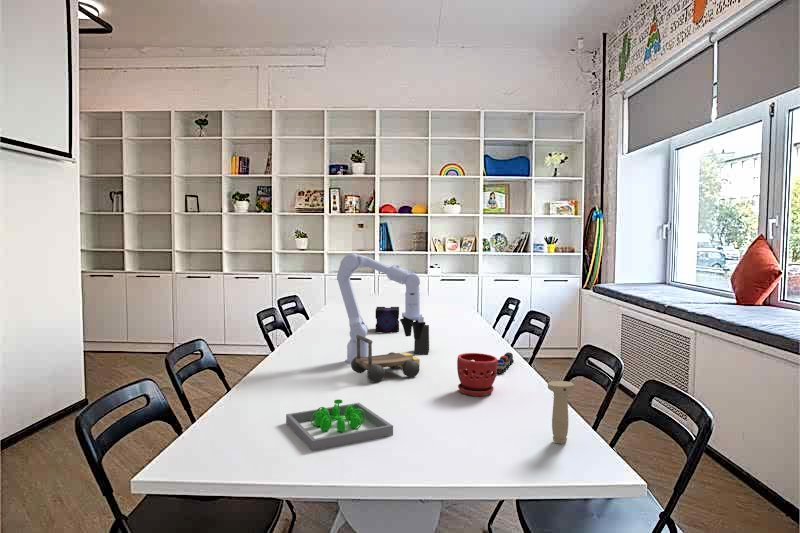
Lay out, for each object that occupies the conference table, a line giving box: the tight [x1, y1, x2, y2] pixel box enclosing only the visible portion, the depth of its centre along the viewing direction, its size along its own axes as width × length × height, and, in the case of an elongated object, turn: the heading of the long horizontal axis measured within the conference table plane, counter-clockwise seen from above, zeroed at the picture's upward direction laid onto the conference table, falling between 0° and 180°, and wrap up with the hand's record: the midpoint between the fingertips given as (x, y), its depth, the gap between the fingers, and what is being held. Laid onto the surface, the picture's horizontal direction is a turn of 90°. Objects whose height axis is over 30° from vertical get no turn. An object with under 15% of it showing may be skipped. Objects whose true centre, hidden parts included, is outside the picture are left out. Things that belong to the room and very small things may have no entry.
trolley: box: [350, 335, 420, 383], centre depth 205 cm, size 16×20×15 cm
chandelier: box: [310, 399, 366, 434], centre depth 153 cm, size 15×15×7 cm
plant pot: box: [456, 352, 499, 397], centre depth 183 cm, size 13×13×12 cm
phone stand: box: [413, 324, 430, 356], centre depth 243 cm, size 9×6×12 cm, turn 173°
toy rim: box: [285, 402, 394, 452], centre depth 150 cm, size 22×22×2 cm
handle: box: [547, 380, 575, 445], centre depth 140 cm, size 5×6×15 cm
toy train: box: [496, 351, 515, 375], centre depth 216 cm, size 4×22×5 cm, turn 158°
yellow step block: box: [398, 352, 421, 368], centre depth 219 cm, size 4×7×5 cm, turn 118°
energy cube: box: [375, 306, 400, 333], centre depth 294 cm, size 12×12×12 cm
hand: (412, 337), depth 222 cm, fingers open, 7 cm apart
